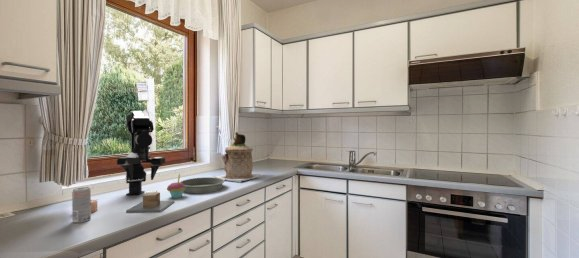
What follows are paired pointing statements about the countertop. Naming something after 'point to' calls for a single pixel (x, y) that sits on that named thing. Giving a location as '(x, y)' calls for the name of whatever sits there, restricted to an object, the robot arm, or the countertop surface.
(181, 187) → the cupcake
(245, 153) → the cookie jar
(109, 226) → the countertop surface
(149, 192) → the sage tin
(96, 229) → the countertop surface
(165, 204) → the slate trivet
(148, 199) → the walnut cube
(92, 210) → the light brown block
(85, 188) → the energy drink
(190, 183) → the cake pan
